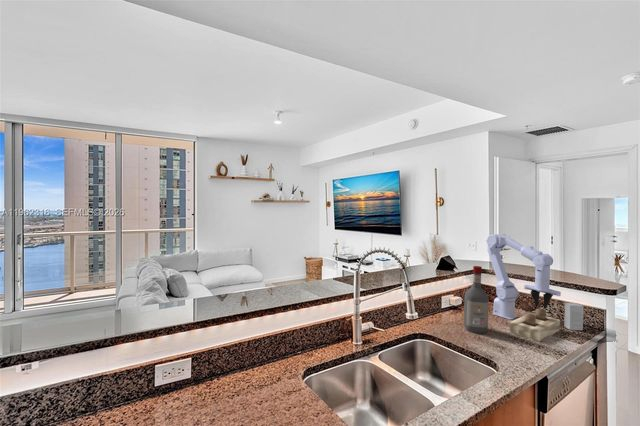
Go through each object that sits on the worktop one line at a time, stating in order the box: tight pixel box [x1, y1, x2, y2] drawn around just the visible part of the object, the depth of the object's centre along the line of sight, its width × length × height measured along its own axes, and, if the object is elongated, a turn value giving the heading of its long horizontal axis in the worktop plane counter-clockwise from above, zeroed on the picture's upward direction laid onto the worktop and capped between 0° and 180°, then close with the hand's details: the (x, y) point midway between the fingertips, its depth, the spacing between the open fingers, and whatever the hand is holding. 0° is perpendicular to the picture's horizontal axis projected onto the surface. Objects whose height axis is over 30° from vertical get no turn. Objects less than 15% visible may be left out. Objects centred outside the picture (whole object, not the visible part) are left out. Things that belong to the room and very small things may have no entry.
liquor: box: [463, 265, 490, 334], centre depth 149 cm, size 9×9×30 cm
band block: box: [509, 312, 561, 343], centre depth 148 cm, size 12×24×5 cm, turn 126°
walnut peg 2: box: [535, 308, 547, 321], centre depth 151 cm, size 4×4×5 cm
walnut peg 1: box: [524, 312, 536, 326], centre depth 144 cm, size 4×4×5 cm
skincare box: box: [563, 302, 584, 331], centre depth 152 cm, size 6×4×12 cm
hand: (541, 307), depth 151 cm, fingers open, 3 cm apart
